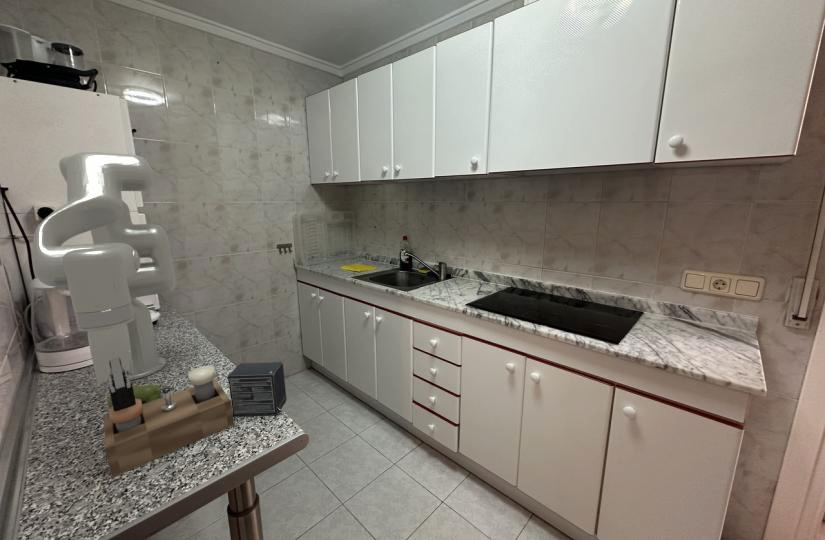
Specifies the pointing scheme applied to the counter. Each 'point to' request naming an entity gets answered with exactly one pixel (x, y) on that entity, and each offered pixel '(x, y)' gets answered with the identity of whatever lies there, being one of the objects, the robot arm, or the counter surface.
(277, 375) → the small box
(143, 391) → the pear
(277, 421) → the counter surface
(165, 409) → the pot stem
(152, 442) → the wooden condiment caddy
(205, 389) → the knob cream
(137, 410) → the knob terracotta
